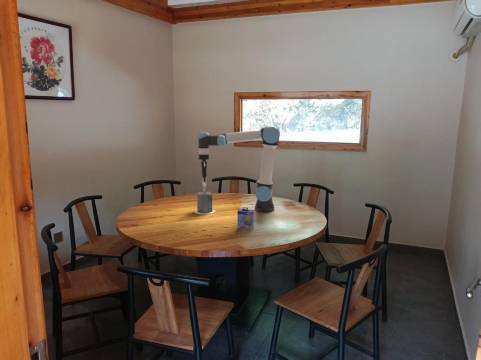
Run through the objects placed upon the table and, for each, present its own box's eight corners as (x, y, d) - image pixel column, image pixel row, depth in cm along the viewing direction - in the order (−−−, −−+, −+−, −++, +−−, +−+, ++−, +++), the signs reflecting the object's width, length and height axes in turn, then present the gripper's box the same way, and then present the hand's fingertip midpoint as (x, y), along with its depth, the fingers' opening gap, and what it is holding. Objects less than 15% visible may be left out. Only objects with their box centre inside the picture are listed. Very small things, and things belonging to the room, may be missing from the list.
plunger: (209, 200, 279) (209, 175, 276) (210, 202, 271) (210, 177, 268) (198, 200, 278) (198, 175, 274) (199, 202, 270) (198, 177, 267)
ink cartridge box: (237, 229, 237) (237, 207, 234) (238, 226, 242) (238, 205, 239) (252, 230, 235) (252, 208, 232) (253, 227, 240) (253, 206, 237)
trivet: (214, 209, 285) (214, 208, 285) (216, 214, 270) (216, 213, 270) (193, 210, 283) (193, 209, 283) (194, 215, 267) (194, 214, 267)
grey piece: (211, 208, 285) (211, 190, 283) (212, 213, 271) (212, 194, 269) (196, 208, 283) (196, 190, 281) (197, 213, 270) (197, 194, 267)
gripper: (198, 152, 276) (198, 183, 280) (199, 155, 259) (199, 187, 264) (208, 152, 277) (208, 183, 281) (209, 155, 260) (210, 187, 265)
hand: (204, 185), depth 272 cm, fingers closed on plunger, 4 cm apart
